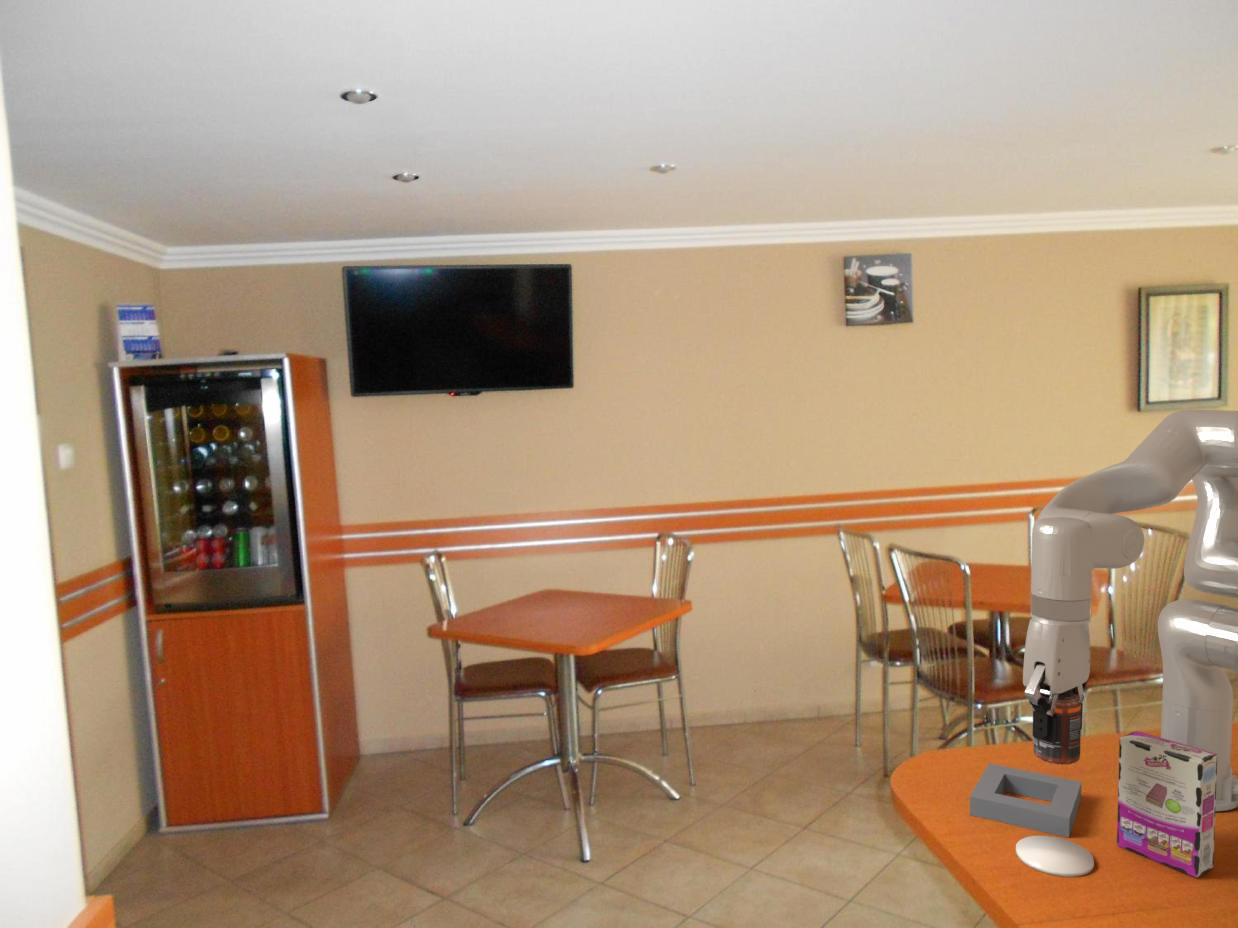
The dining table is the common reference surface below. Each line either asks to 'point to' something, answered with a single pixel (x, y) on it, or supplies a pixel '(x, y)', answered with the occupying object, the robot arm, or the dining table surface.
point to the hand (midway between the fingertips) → (1057, 732)
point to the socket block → (1024, 812)
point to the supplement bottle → (1063, 731)
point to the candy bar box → (1167, 802)
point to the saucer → (1055, 856)
